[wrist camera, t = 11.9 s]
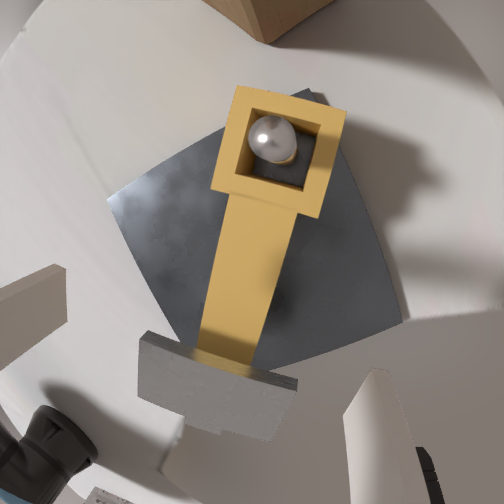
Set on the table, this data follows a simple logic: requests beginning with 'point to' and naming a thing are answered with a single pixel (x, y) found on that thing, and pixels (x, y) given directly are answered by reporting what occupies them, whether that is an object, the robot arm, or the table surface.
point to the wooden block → (267, 15)
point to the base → (296, 258)
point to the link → (259, 218)
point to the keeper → (212, 388)
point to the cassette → (104, 498)
